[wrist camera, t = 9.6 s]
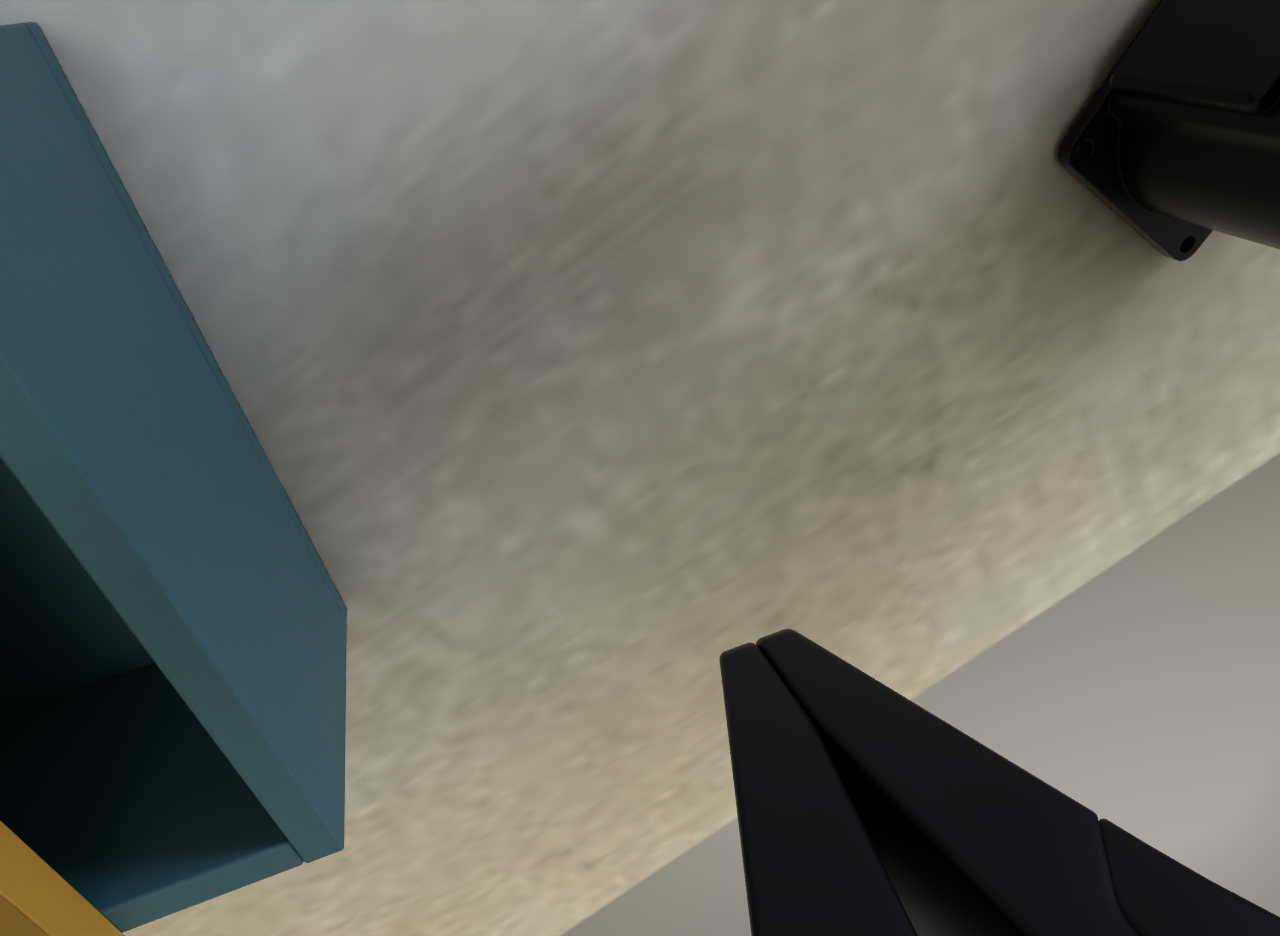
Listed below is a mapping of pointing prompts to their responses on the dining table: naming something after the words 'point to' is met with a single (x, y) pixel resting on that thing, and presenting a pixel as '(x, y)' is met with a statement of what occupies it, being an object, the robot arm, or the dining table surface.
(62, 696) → the storage bin
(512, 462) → the dining table surface
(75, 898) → the bin lid
